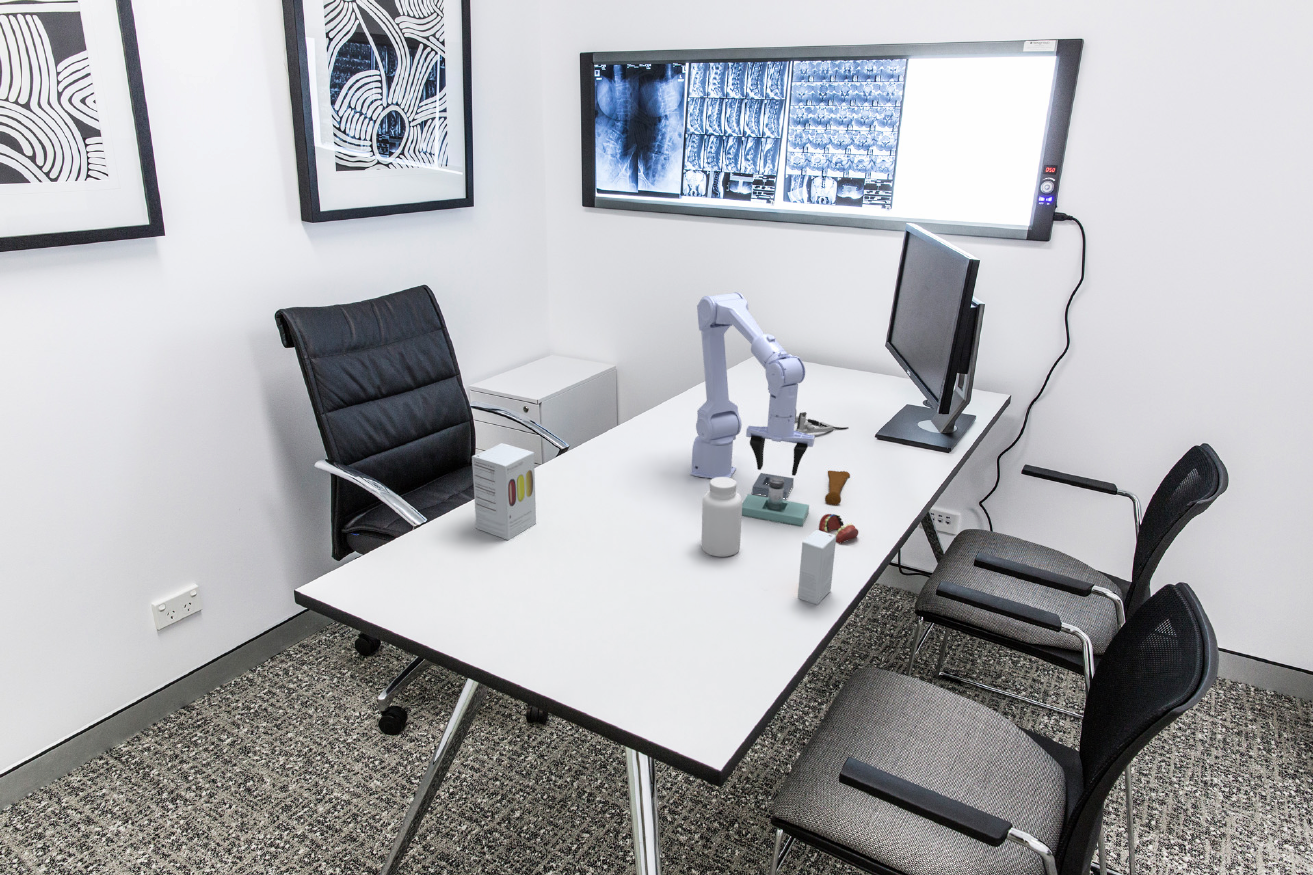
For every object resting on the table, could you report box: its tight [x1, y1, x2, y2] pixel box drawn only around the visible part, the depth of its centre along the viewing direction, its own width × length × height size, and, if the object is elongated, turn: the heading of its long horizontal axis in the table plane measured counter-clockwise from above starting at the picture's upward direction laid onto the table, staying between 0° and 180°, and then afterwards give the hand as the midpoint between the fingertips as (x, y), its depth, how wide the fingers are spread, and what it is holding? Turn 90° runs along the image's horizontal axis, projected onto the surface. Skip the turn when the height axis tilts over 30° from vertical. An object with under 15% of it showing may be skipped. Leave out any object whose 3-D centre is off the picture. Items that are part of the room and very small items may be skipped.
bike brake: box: [795, 411, 849, 435], centre depth 235 cm, size 14×7×20 cm
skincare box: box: [797, 529, 837, 605], centre depth 156 cm, size 6×4×12 cm
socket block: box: [751, 472, 795, 500], centre depth 199 cm, size 8×8×2 cm
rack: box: [742, 493, 810, 527], centre depth 188 cm, size 14×7×2 cm, turn 70°
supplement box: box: [471, 442, 537, 541], centre depth 177 cm, size 10×9×17 cm
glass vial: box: [767, 477, 784, 512], centre depth 187 cm, size 3×3×8 cm
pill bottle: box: [701, 477, 743, 558], centre depth 171 cm, size 8×8×15 cm
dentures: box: [818, 513, 859, 544], centre depth 179 cm, size 6×4×8 cm
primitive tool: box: [824, 470, 851, 506], centre depth 201 cm, size 19×6×4 cm, turn 167°
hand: (777, 470), depth 186 cm, fingers open, 7 cm apart
